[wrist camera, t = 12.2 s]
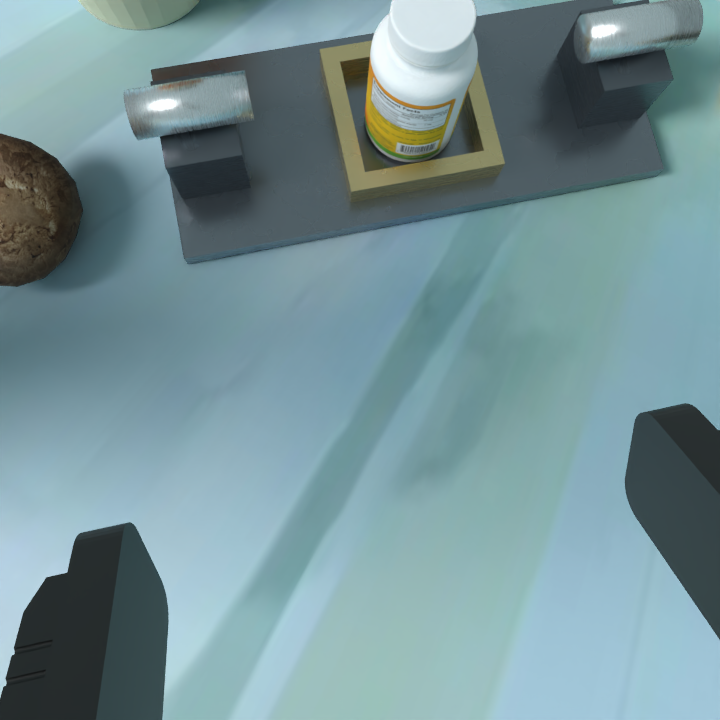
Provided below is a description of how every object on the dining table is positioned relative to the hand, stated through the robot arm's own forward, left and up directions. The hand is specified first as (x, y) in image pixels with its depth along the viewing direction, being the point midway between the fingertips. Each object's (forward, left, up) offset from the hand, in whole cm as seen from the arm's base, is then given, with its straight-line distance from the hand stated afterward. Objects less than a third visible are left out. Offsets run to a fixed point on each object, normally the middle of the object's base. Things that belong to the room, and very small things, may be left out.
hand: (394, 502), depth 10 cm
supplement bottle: (+1, +21, -26) cm, 34 cm away
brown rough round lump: (-21, +12, -27) cm, 36 cm away
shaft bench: (0, +22, -27) cm, 34 cm away
